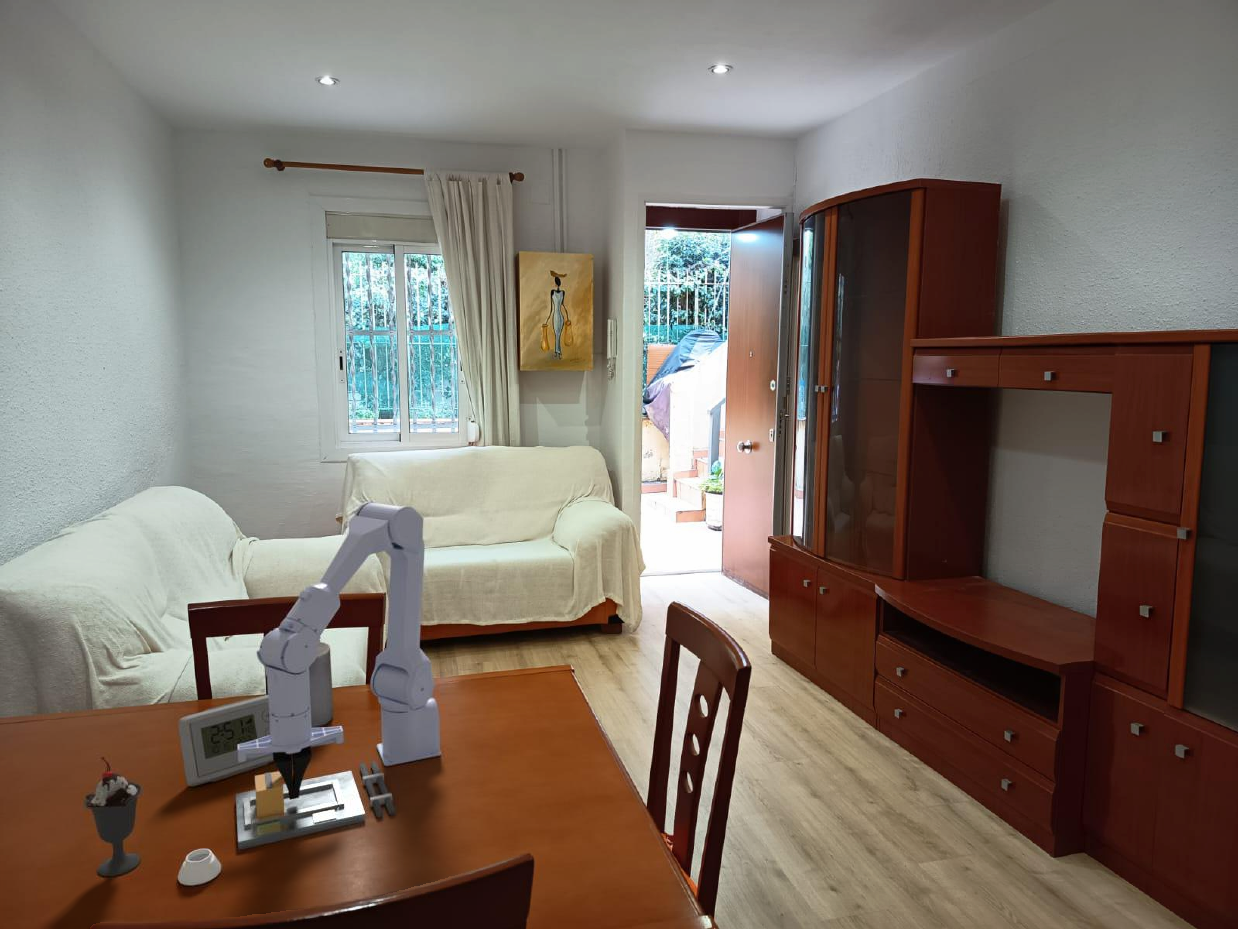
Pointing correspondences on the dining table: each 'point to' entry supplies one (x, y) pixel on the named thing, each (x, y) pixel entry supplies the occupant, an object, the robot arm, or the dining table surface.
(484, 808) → the dining table surface
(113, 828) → the sundae
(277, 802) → the cardboard box
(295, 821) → the grey metal tray
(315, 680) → the pillar candle
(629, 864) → the dining table surface
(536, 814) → the dining table surface
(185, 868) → the white hollow cone ring
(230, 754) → the digital clock
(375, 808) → the cable bundle
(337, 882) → the dining table surface
